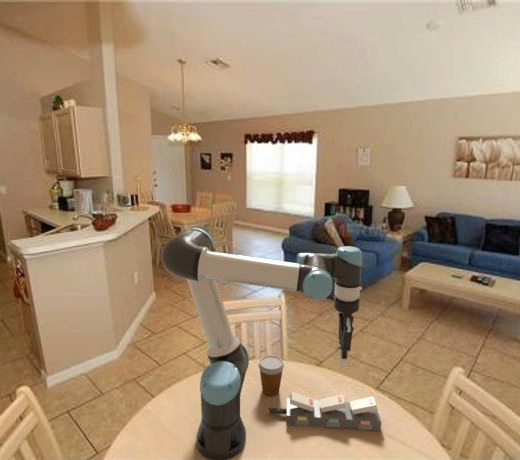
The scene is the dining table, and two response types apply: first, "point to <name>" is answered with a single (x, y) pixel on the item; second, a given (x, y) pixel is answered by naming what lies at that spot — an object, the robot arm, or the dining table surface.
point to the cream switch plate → (332, 403)
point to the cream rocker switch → (363, 405)
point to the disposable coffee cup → (271, 374)
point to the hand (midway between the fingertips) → (342, 365)
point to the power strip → (330, 417)
